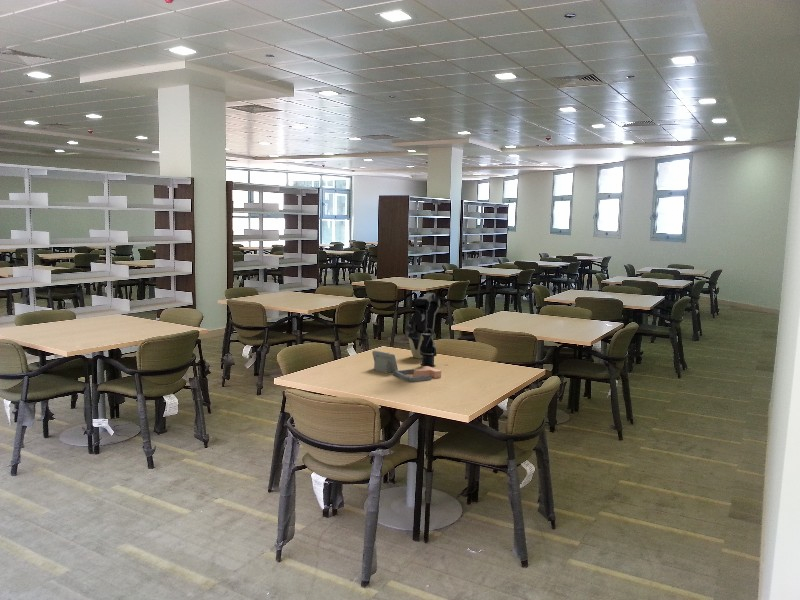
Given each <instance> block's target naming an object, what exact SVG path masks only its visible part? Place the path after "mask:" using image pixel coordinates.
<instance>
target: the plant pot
mask: <svg viewBox="0 0 800 600" xmlns="http://www.w3.org/2000/svg"><path fill="white" fill-rule="evenodd" d="M413 332H414V331H413ZM420 338H421V340H420V343H419V346H418V349H417V350H415V347H414V343H413V341H412V340H411V339H410V338H409V337H408V343H409V348H410V352H411V354H412V357H413V358H414V357H415V359H422V355H420V346H421V344H422V340H423V336H422V335H421V337H420Z"/></svg>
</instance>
